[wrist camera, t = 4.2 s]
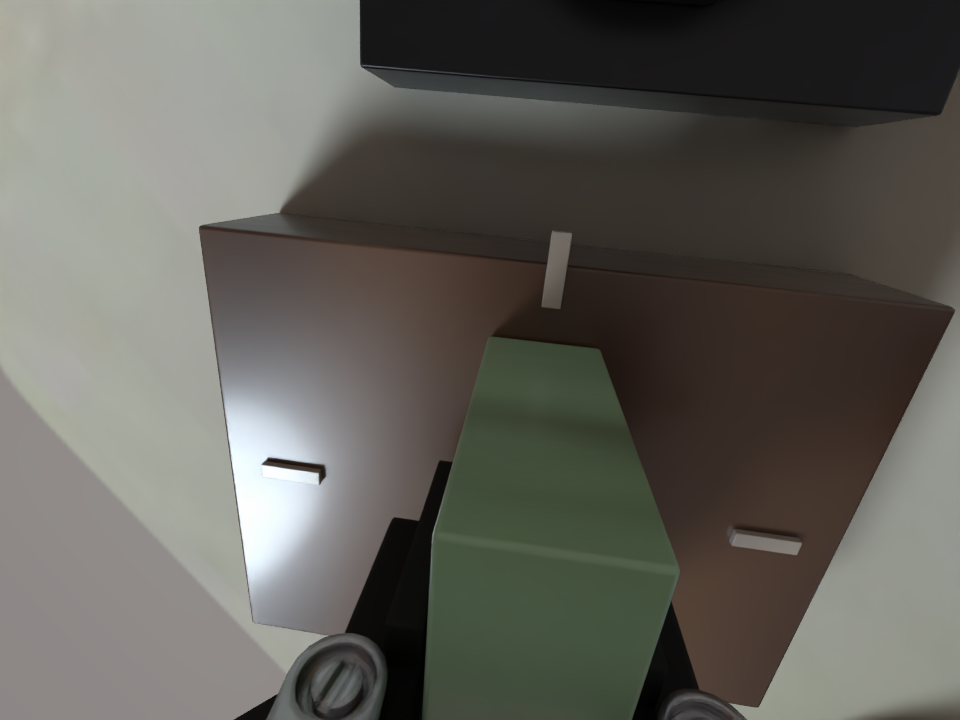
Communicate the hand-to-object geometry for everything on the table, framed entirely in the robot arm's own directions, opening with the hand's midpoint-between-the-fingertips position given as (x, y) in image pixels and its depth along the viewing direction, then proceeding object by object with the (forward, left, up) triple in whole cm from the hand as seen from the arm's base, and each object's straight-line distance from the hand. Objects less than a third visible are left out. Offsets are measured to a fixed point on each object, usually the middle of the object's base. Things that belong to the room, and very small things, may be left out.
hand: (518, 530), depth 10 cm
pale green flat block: (0, 0, -1) cm, 1 cm away
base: (0, 0, -4) cm, 4 cm away
